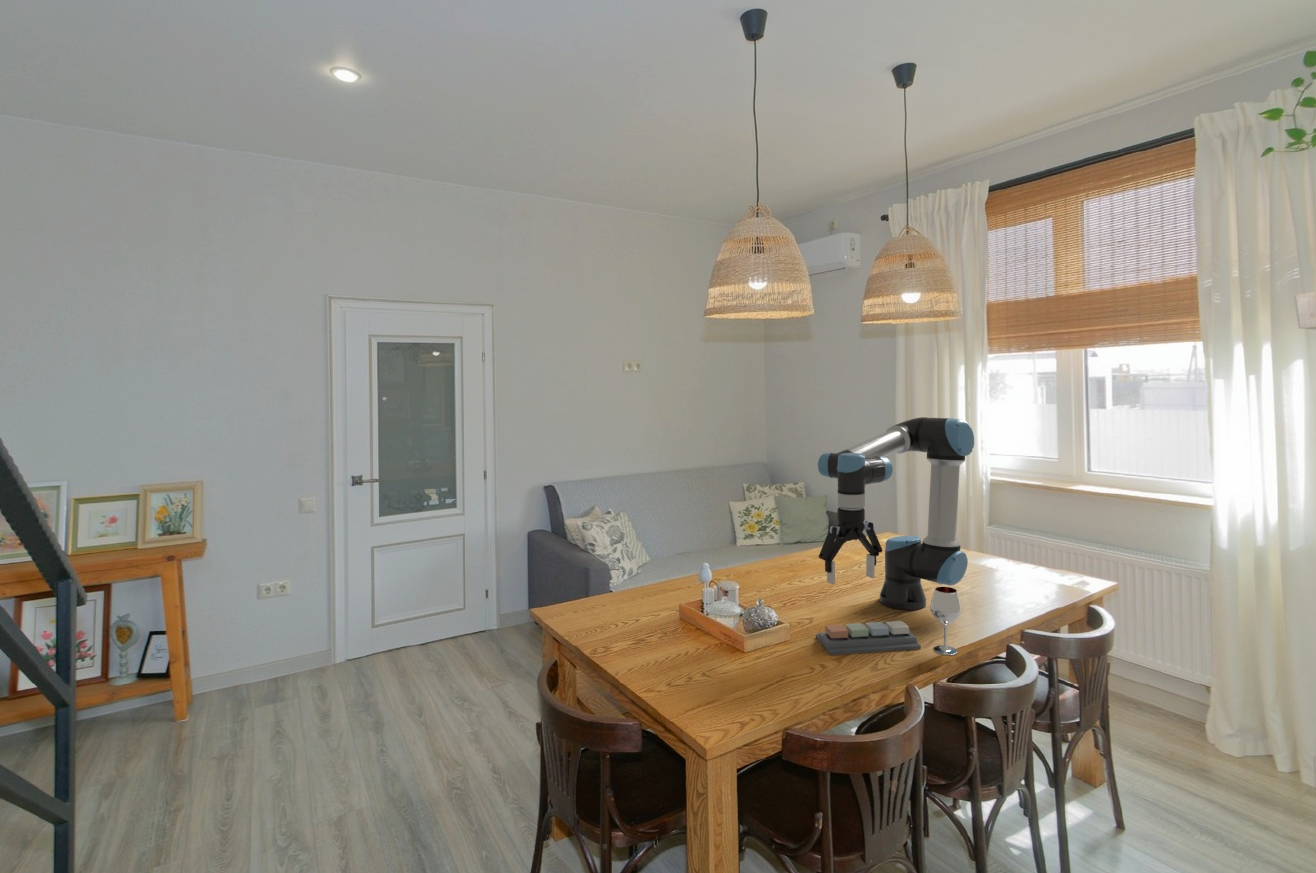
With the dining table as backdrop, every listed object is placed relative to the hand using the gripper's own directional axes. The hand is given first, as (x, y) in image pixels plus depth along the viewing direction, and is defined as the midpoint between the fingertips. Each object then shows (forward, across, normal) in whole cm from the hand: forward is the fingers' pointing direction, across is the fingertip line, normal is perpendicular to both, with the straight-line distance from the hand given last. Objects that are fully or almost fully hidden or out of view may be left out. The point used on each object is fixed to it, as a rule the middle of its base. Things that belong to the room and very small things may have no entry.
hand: (850, 580), depth 194 cm
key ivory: (+18, -16, 0) cm, 24 cm away
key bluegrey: (+18, -10, -1) cm, 21 cm away
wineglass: (+21, -24, +11) cm, 34 cm away
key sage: (+18, -4, -3) cm, 19 cm away
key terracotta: (+18, +2, -5) cm, 18 cm away
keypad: (+21, -8, -2) cm, 22 cm away
